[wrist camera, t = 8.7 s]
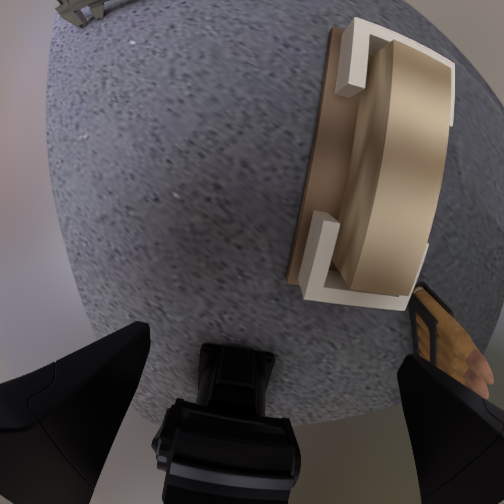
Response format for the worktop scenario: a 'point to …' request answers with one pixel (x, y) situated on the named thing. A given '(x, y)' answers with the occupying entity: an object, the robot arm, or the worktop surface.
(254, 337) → the worktop surface
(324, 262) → the end caps
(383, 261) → the maple slat
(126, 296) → the worktop surface
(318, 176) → the walnut board
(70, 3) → the caliper
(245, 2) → the worktop surface
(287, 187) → the worktop surface
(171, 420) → the robot arm
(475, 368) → the ammunition clip
